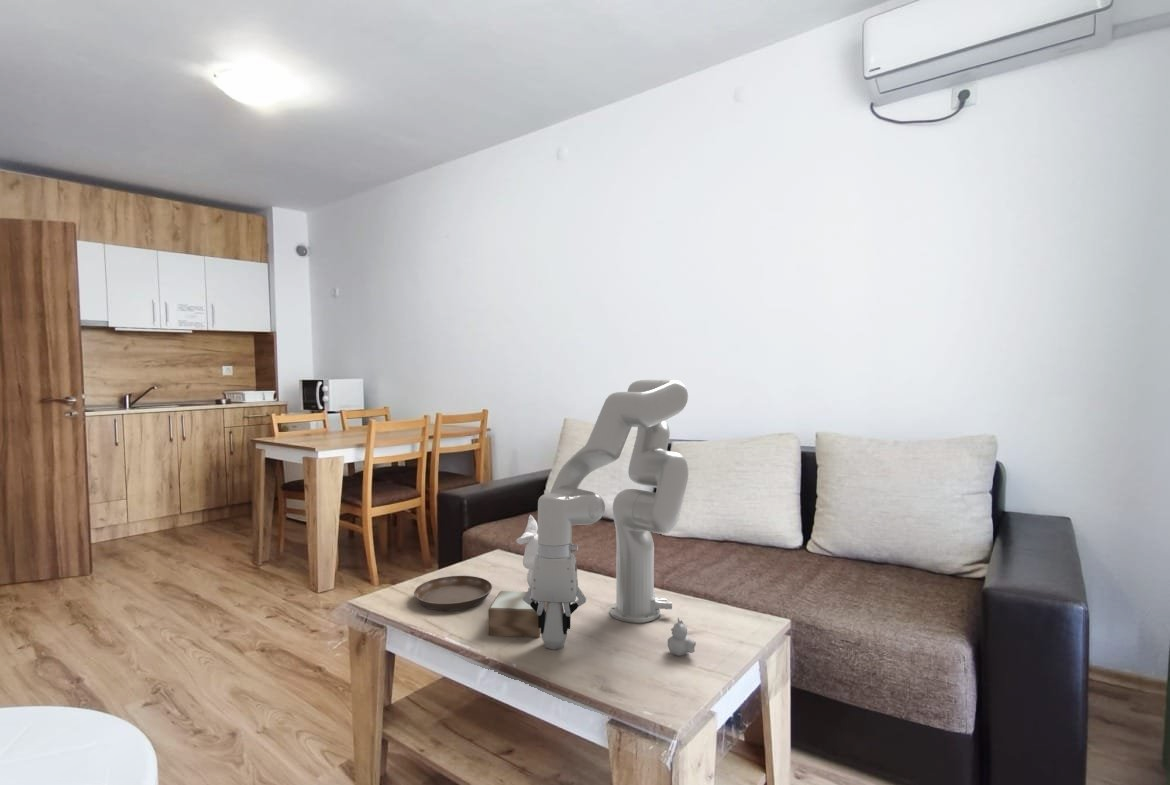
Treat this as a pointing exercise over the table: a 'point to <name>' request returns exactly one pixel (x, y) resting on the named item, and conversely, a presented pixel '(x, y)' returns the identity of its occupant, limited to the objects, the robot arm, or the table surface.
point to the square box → (512, 616)
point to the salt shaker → (554, 626)
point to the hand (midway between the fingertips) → (554, 630)
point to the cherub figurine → (529, 546)
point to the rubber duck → (680, 640)
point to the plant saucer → (453, 592)
